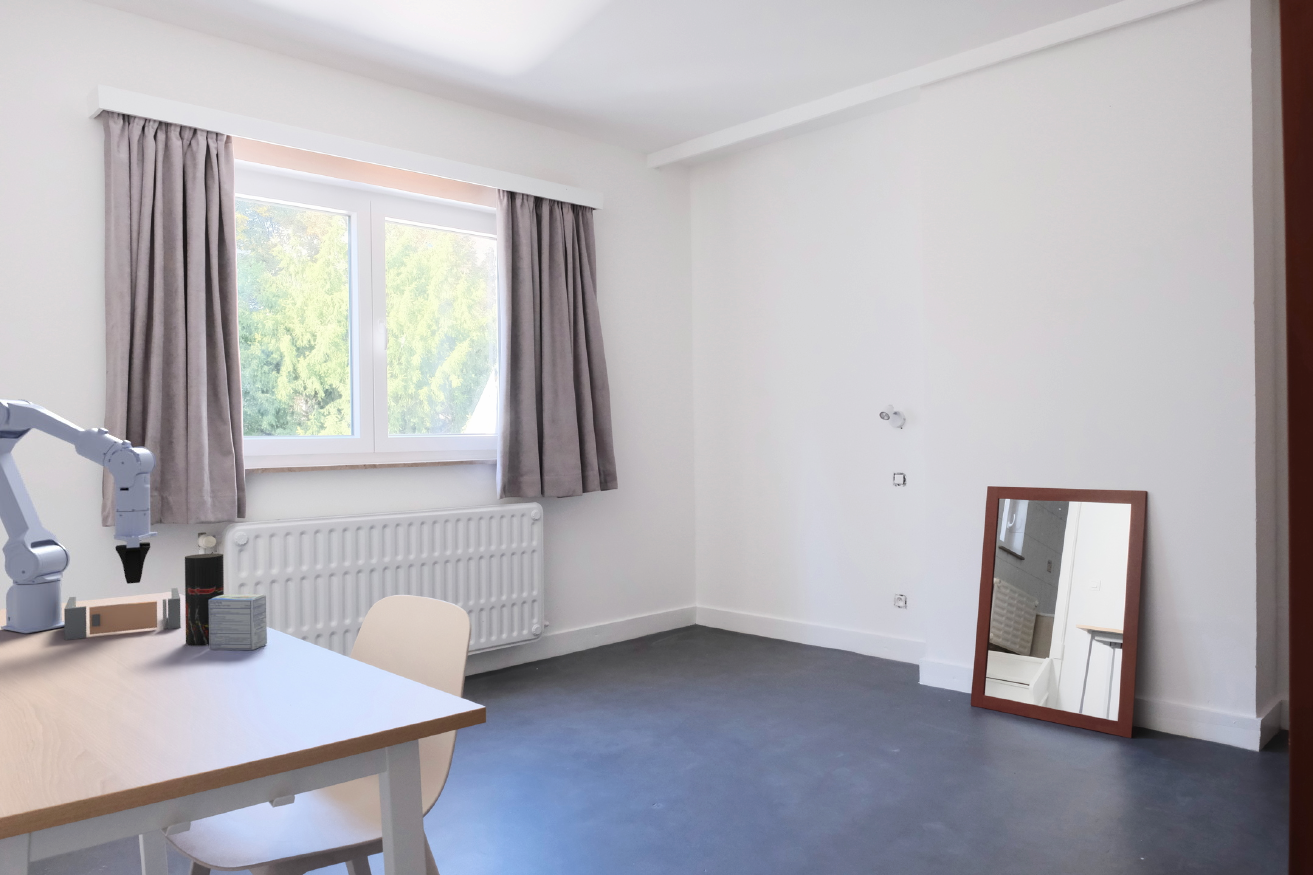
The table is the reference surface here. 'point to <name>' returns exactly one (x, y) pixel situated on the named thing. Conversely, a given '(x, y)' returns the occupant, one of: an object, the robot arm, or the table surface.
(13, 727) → the table surface
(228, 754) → the table surface
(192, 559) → the deodorant
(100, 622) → the door
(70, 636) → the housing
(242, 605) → the medicine box
